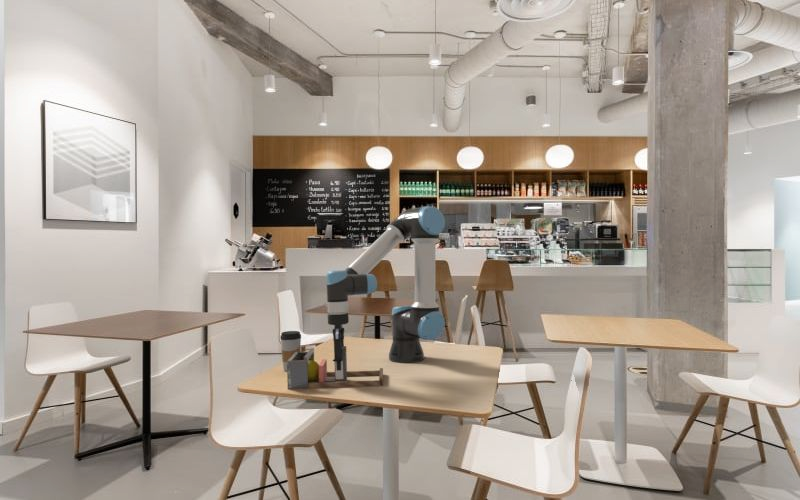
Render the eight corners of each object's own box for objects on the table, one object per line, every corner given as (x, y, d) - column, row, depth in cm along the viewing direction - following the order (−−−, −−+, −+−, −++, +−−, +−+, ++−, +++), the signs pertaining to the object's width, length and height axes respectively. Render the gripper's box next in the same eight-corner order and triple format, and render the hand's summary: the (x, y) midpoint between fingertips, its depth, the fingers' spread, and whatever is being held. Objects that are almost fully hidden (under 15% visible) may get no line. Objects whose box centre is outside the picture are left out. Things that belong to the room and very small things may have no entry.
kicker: (347, 376, 179) (346, 344, 179) (345, 383, 169) (344, 350, 169) (322, 377, 179) (322, 345, 179) (319, 384, 169) (318, 350, 169)
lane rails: (383, 374, 182) (382, 368, 182) (382, 385, 167) (382, 378, 167) (314, 376, 181) (314, 370, 181) (308, 388, 166) (307, 381, 166)
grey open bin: (314, 376, 181) (313, 348, 181) (307, 388, 166) (307, 357, 166) (296, 376, 181) (295, 348, 181) (287, 388, 166) (286, 358, 166)
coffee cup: (296, 372, 188) (296, 334, 188) (277, 372, 190) (276, 334, 190) (305, 367, 196) (304, 330, 196) (286, 366, 198) (285, 330, 198)
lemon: (317, 378, 179) (317, 356, 178) (325, 383, 172) (325, 361, 172) (289, 382, 173) (289, 360, 173) (296, 388, 166) (296, 365, 166)
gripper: (330, 310, 182) (332, 371, 182) (324, 316, 165) (326, 384, 165) (350, 309, 183) (352, 370, 183) (346, 315, 165) (348, 383, 166)
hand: (340, 376), depth 174 cm, fingers closed on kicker, 4 cm apart
